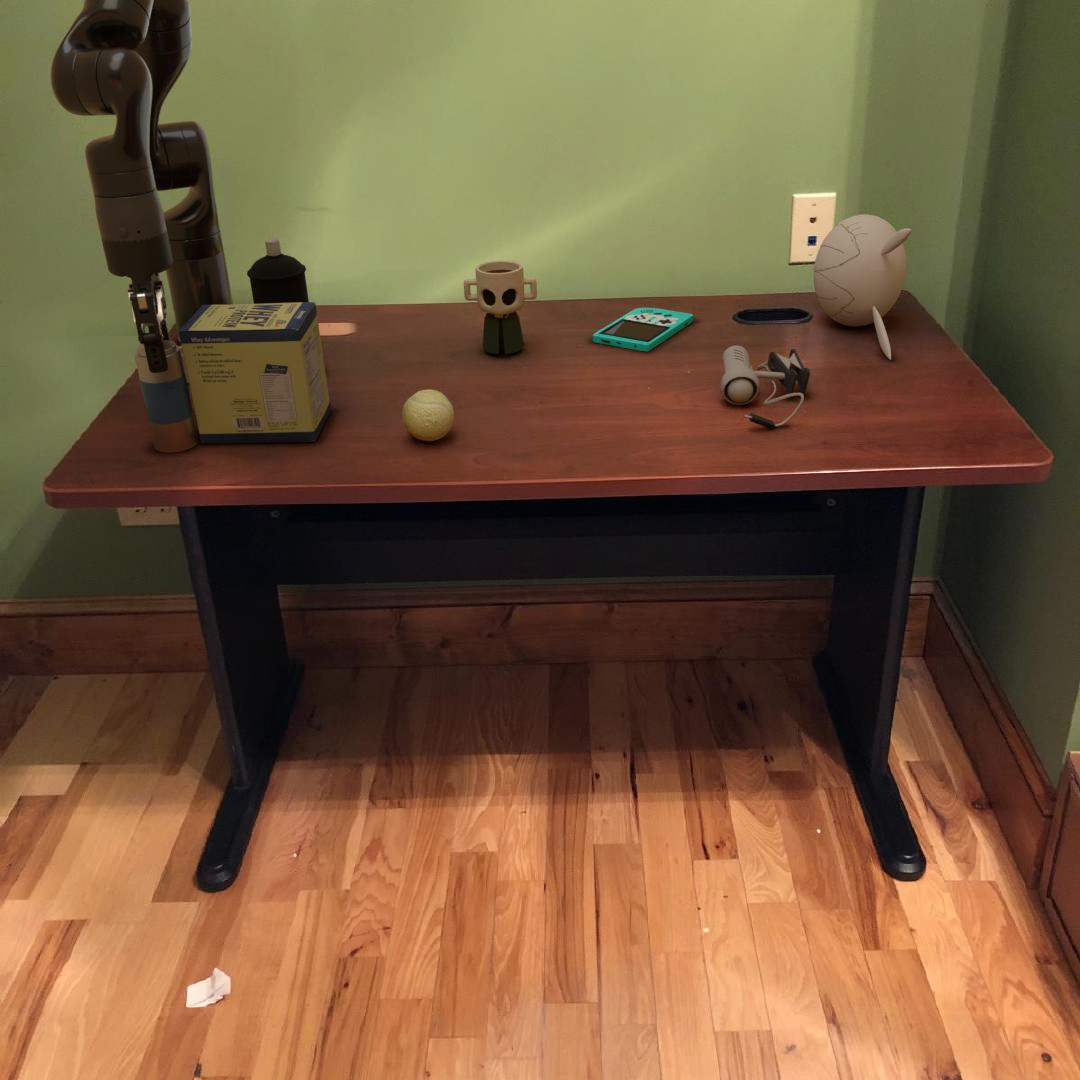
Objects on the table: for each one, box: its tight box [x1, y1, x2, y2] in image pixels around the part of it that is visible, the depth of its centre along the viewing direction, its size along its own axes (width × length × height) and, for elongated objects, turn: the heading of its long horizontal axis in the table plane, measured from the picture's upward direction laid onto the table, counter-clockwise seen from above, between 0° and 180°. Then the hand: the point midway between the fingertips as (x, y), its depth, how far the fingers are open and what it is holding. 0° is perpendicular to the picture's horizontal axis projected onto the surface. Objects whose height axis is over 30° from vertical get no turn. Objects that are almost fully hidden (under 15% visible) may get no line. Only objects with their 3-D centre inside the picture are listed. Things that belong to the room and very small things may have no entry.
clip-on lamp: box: [720, 345, 811, 430], centre depth 152 cm, size 12×6×18 cm
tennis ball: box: [401, 389, 455, 442], centre depth 146 cm, size 6×7×7 cm
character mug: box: [463, 259, 538, 355], centre depth 172 cm, size 11×7×13 cm, turn 88°
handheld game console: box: [592, 307, 694, 353], centre depth 180 cm, size 10×16×1 cm, turn 148°
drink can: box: [133, 339, 199, 454], centre depth 146 cm, size 6×6×13 cm
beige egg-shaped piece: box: [813, 214, 913, 361], centre depth 173 cm, size 19×14×25 cm
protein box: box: [177, 301, 332, 445], centre depth 149 cm, size 10×16×16 cm
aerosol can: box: [246, 238, 310, 304], centre depth 164 cm, size 8×8×20 cm
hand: (160, 360), depth 143 cm, fingers open, 8 cm apart
